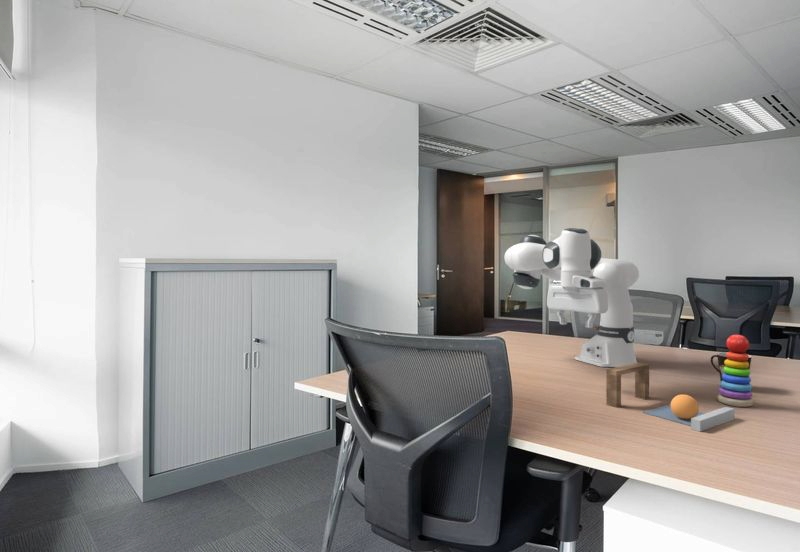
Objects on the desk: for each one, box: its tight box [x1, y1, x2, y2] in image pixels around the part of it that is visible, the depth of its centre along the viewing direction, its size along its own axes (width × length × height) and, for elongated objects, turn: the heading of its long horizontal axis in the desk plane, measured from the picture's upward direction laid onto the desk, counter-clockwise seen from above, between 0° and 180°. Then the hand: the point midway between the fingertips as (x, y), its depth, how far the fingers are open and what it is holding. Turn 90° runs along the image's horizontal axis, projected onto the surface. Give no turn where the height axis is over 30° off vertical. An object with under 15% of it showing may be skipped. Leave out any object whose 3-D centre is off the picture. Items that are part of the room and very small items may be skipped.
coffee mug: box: [710, 351, 752, 382], centre depth 148 cm, size 12×9×10 cm
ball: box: [670, 393, 700, 420], centre depth 119 cm, size 6×6×6 cm
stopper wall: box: [690, 406, 736, 432], centre depth 115 cm, size 2×16×2 cm, turn 121°
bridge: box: [605, 362, 650, 408], centre depth 134 cm, size 3×15×10 cm, turn 122°
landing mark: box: [642, 403, 706, 427], centre depth 122 cm, size 12×12×1 cm
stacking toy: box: [717, 334, 754, 408], centre depth 131 cm, size 8×8×19 cm
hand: (575, 325), depth 148 cm, fingers open, 8 cm apart
